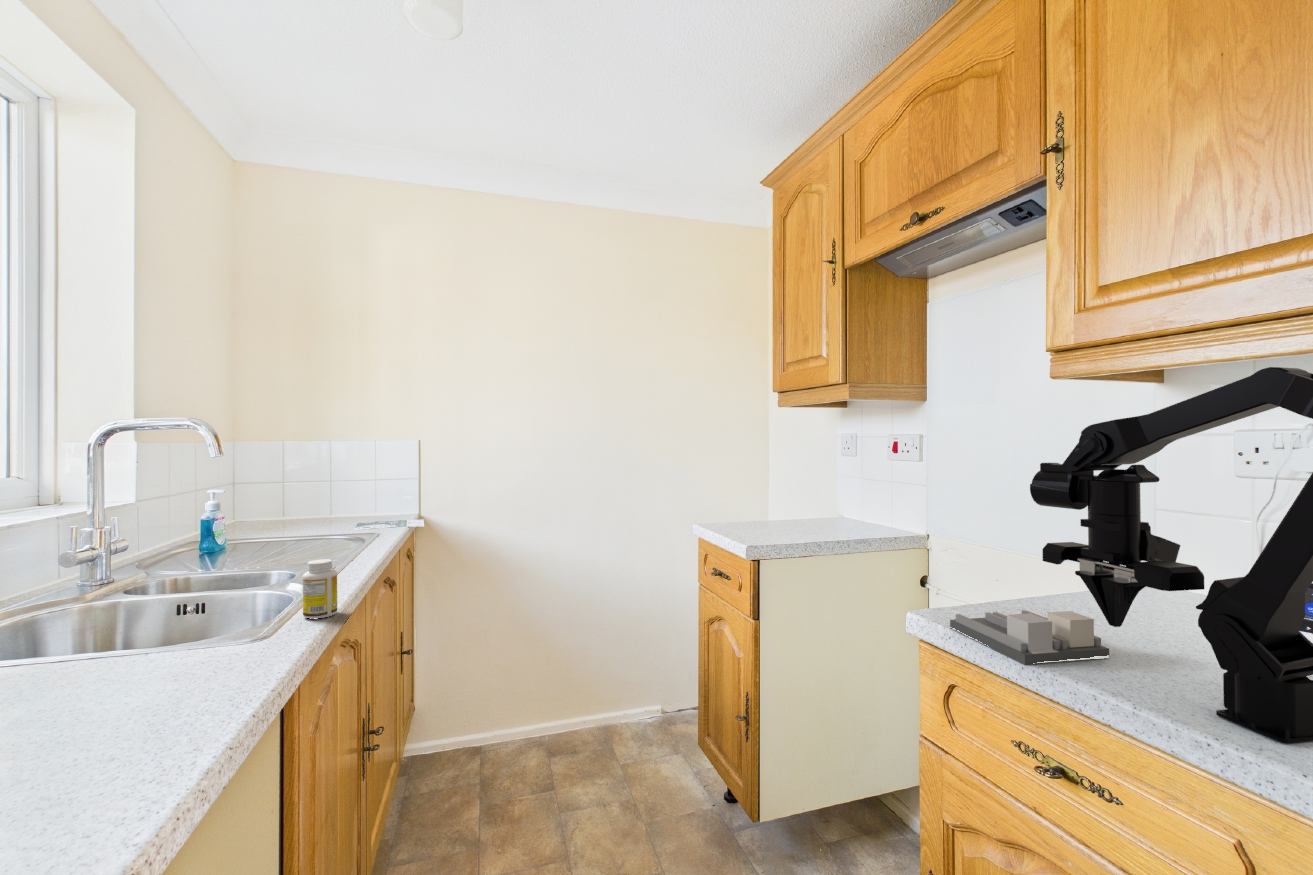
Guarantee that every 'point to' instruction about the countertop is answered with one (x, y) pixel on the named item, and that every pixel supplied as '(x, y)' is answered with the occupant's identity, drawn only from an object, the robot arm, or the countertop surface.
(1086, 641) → the beige cube
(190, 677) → the countertop surface
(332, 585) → the supplement bottle
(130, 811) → the countertop surface
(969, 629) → the switch board
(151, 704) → the countertop surface
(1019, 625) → the light grey cube
